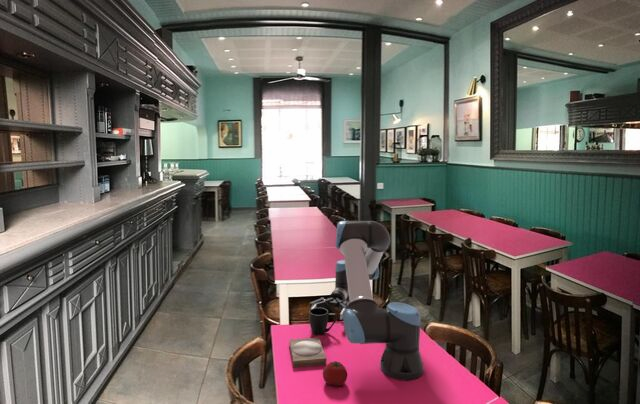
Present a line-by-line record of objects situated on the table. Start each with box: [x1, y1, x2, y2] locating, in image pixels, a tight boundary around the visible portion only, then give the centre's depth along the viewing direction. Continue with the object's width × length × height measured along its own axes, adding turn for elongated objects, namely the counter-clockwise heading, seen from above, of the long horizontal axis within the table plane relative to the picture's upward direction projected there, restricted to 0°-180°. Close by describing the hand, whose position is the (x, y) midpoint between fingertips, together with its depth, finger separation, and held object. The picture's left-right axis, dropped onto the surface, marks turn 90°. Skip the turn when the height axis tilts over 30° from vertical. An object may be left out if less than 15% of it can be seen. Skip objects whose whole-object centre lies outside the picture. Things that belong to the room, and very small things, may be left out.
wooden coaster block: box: [289, 337, 327, 368], centre depth 149 cm, size 16×12×3 cm
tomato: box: [322, 360, 348, 387], centre depth 130 cm, size 8×8×7 cm
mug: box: [308, 307, 338, 336], centre depth 166 cm, size 8×12×10 cm
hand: (325, 314), depth 171 cm, fingers open, 13 cm apart
